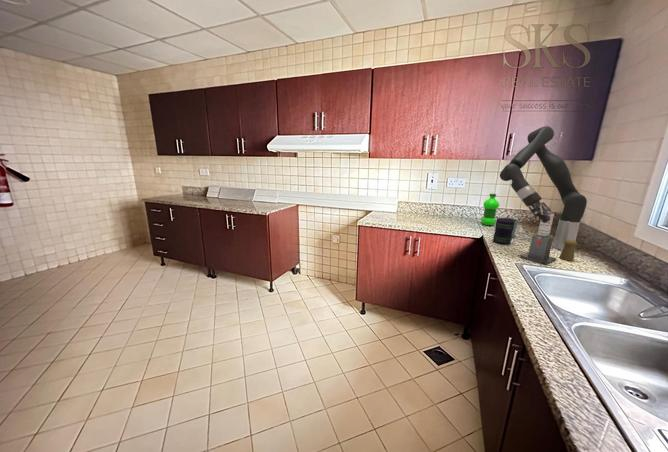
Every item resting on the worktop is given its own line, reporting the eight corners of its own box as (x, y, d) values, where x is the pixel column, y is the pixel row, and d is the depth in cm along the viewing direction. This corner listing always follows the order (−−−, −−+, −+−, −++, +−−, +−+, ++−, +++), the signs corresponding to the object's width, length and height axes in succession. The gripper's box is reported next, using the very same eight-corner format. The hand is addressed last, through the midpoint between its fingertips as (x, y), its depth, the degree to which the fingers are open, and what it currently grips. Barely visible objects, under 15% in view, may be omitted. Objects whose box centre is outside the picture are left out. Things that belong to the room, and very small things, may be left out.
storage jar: (489, 241, 170) (492, 218, 166) (499, 239, 173) (503, 217, 169) (503, 246, 161) (508, 222, 157) (514, 244, 165) (518, 221, 161)
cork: (558, 256, 145) (563, 237, 142) (573, 259, 141) (578, 239, 138) (559, 259, 140) (563, 240, 137) (573, 262, 137) (579, 242, 134)
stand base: (529, 253, 148) (534, 231, 145) (555, 260, 139) (561, 236, 135) (520, 258, 142) (524, 234, 138) (546, 265, 132) (552, 240, 129)
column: (537, 246, 141) (545, 211, 136) (546, 248, 138) (554, 212, 133) (534, 247, 139) (542, 212, 134) (543, 249, 136) (551, 213, 131)
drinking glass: (497, 233, 187) (500, 216, 184) (514, 235, 183) (517, 218, 180) (498, 236, 179) (502, 220, 175) (516, 239, 174) (520, 221, 171)
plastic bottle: (495, 227, 202) (501, 195, 195) (480, 225, 207) (485, 194, 200) (495, 224, 210) (500, 193, 204) (480, 222, 215) (485, 192, 209)
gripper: (527, 198, 146) (548, 223, 140) (516, 201, 139) (536, 226, 133) (541, 190, 141) (562, 215, 134) (529, 192, 133) (551, 218, 127)
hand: (549, 221), depth 133 cm, fingers open, 8 cm apart
